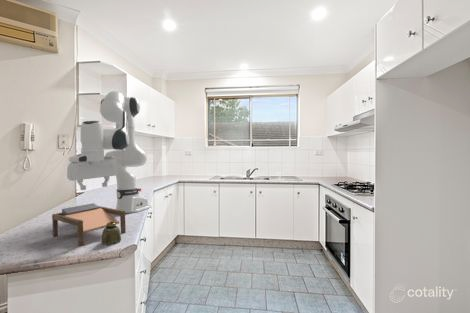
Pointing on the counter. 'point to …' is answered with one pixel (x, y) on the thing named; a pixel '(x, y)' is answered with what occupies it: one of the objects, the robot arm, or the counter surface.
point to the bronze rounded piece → (111, 234)
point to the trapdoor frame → (79, 223)
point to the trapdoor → (89, 216)
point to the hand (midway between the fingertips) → (94, 188)
